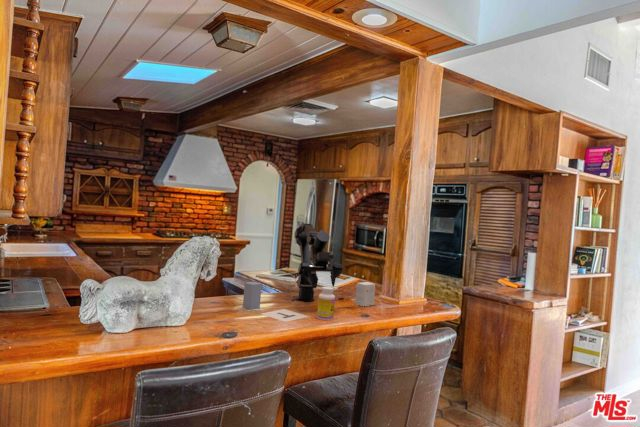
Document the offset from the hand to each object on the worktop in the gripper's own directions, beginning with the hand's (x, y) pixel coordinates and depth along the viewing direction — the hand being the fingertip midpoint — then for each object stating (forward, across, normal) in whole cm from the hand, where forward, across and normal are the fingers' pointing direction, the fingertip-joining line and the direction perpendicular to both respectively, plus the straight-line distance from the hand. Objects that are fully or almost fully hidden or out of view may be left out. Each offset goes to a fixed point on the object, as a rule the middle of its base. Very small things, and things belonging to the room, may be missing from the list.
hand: (323, 285), depth 179 cm
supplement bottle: (+14, 0, +4) cm, 14 cm away
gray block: (+3, -28, +14) cm, 32 cm away
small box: (-5, +28, +23) cm, 36 cm away
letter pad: (+11, -16, +7) cm, 20 cm away
